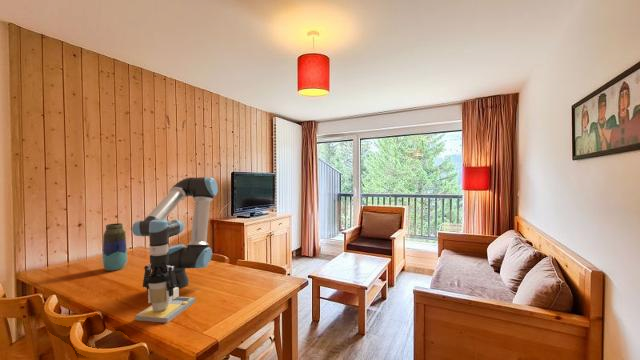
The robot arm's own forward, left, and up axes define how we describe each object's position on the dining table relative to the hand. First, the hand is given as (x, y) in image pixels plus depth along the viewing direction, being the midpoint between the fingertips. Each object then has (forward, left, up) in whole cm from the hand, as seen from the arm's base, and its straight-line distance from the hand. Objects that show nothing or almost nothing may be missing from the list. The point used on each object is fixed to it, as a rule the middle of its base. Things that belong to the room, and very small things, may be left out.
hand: (160, 302), depth 125 cm
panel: (0, +4, -6) cm, 7 cm away
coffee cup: (0, 0, -3) cm, 3 cm away
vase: (-79, +52, -6) cm, 95 cm away
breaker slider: (-3, +12, -3) cm, 13 cm away
